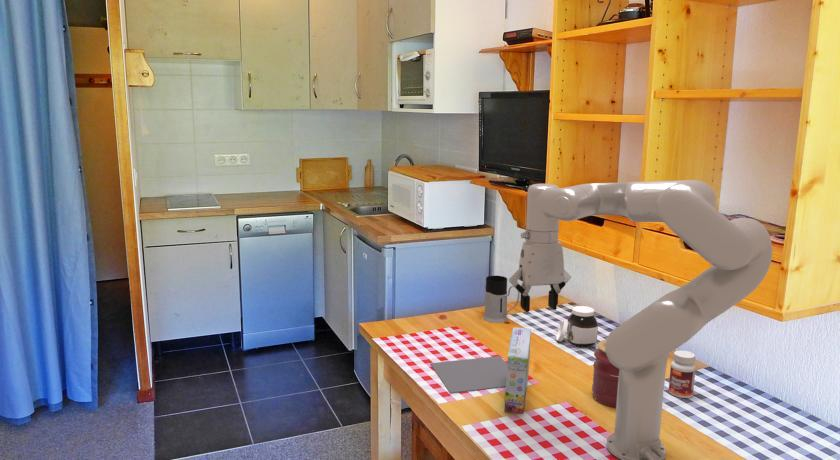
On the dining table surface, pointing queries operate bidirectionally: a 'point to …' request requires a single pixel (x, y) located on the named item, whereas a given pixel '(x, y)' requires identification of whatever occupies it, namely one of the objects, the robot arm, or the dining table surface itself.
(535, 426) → the dining table surface
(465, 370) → the mat
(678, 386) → the pill bottle
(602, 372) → the canister
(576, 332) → the spread jar
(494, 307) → the grey mug
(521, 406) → the snack box
